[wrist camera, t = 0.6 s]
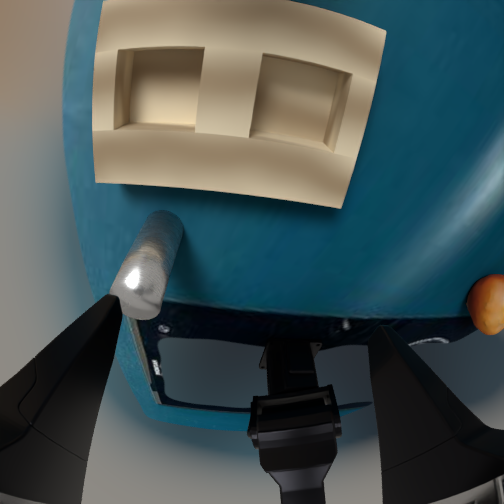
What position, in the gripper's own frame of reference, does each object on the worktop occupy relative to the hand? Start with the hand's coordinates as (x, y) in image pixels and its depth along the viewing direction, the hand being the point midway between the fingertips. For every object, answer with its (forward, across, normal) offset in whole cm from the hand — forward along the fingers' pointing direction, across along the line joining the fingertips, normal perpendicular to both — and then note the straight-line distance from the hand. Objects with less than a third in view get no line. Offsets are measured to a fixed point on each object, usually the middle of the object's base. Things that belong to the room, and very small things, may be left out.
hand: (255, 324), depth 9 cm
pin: (+13, +6, +5) cm, 15 cm away
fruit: (+13, -33, +7) cm, 36 cm away
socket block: (+13, +2, -6) cm, 14 cm away
